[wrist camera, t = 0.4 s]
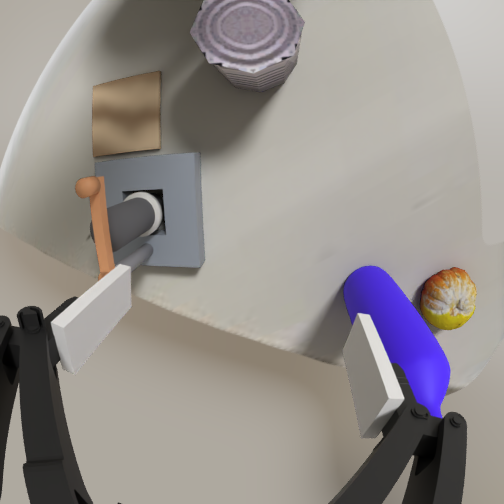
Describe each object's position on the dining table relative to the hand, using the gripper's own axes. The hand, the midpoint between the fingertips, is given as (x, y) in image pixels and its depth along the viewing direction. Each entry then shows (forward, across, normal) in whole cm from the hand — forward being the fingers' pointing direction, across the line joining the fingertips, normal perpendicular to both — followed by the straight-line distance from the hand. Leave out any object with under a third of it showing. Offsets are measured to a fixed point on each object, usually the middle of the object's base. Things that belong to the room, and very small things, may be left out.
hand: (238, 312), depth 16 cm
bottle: (+27, +18, -8) cm, 34 cm away
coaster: (+27, -24, +11) cm, 38 cm away
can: (+28, -5, +22) cm, 36 cm away
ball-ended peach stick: (+13, -17, -3) cm, 22 cm away
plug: (+27, -17, -3) cm, 32 cm away
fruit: (+27, +33, -7) cm, 43 cm away
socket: (+27, -17, -3) cm, 32 cm away
